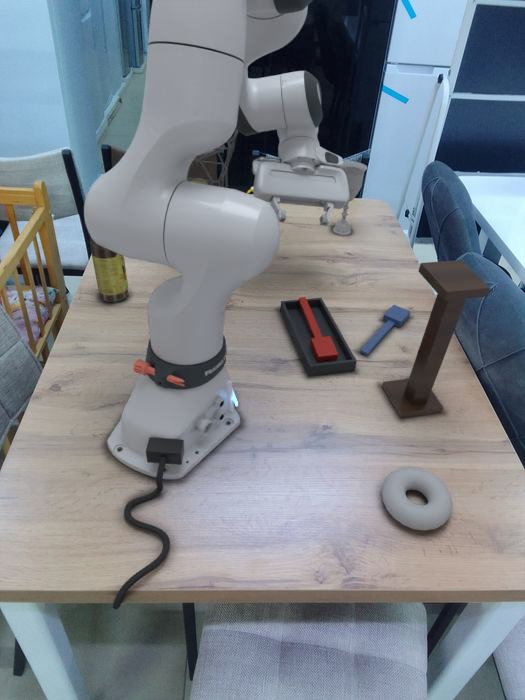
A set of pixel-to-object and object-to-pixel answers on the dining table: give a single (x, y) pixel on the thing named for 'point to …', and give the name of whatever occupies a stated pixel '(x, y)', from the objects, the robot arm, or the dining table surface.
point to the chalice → (350, 191)
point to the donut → (413, 513)
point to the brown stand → (435, 336)
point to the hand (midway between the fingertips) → (303, 222)
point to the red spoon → (318, 336)
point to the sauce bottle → (109, 273)
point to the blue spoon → (387, 326)
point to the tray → (303, 337)
